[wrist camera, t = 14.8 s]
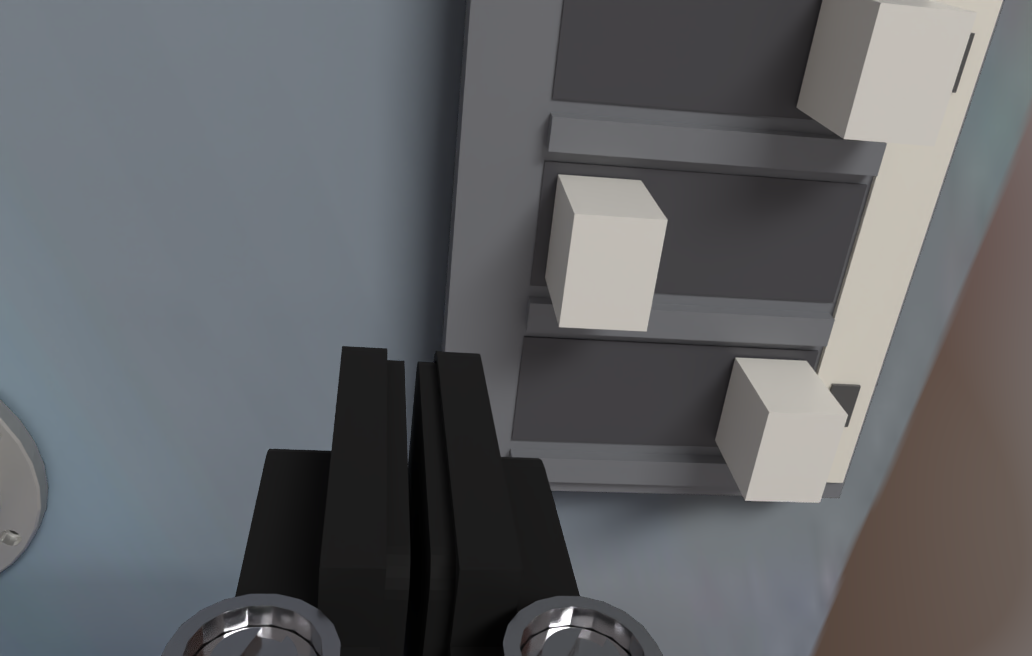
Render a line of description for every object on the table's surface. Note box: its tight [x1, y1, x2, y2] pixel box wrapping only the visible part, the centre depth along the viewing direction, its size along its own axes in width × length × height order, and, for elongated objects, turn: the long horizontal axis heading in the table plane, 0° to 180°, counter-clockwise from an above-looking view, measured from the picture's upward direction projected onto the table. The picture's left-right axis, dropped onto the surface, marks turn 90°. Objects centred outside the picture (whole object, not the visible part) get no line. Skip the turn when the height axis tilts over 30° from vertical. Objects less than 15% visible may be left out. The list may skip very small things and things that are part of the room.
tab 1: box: [715, 357, 848, 503], centre depth 35 cm, size 4×3×4 cm
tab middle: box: [545, 174, 668, 332], centre depth 31 cm, size 4×3×4 cm
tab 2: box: [796, 0, 977, 146], centre depth 28 cm, size 4×3×4 cm
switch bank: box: [441, 0, 1005, 498], centre depth 34 cm, size 24×18×4 cm
